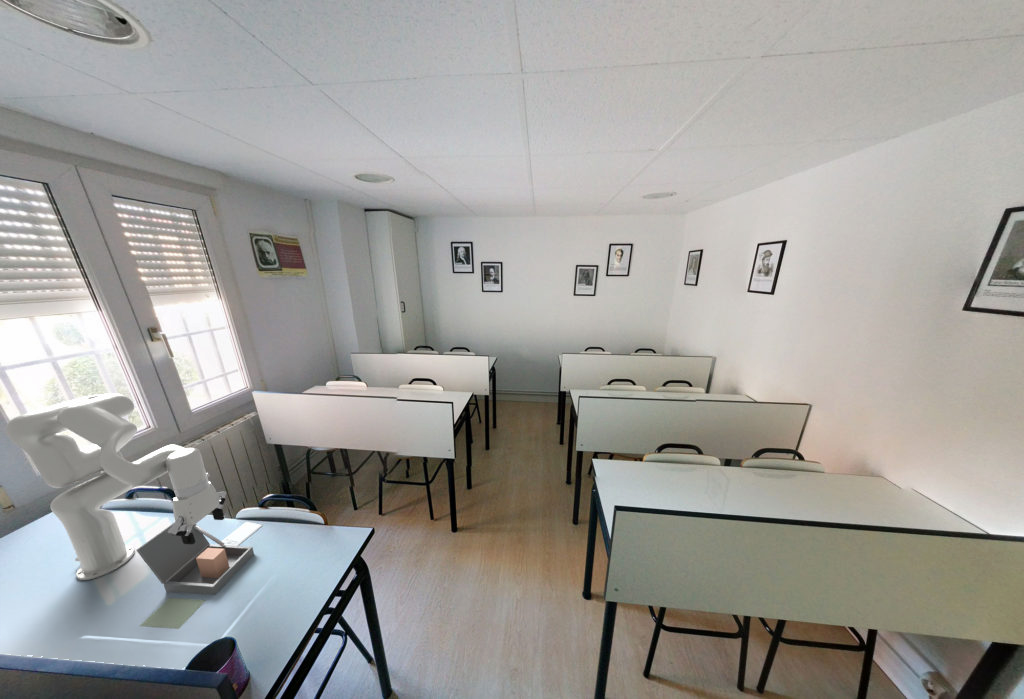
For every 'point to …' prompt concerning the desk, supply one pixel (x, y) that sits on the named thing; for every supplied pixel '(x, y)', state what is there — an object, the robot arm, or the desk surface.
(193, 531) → the equipment case
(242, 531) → the external hard drive
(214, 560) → the block
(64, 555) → the desk surface
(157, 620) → the olive mat
